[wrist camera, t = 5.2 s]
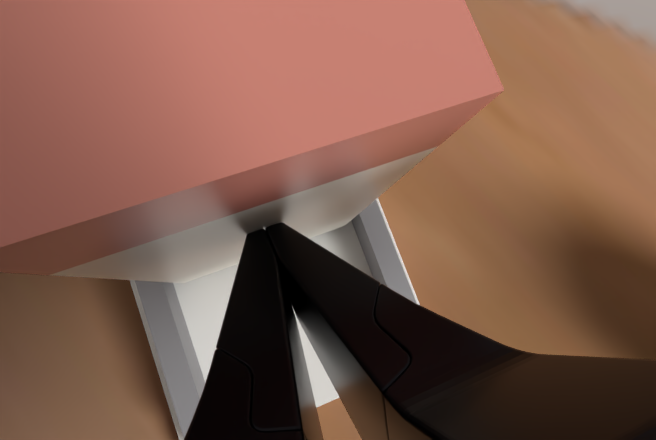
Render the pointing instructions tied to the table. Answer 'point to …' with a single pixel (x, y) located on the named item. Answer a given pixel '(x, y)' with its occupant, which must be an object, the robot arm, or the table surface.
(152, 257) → the cream and pink block
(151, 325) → the grey and white holder
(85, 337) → the table surface
